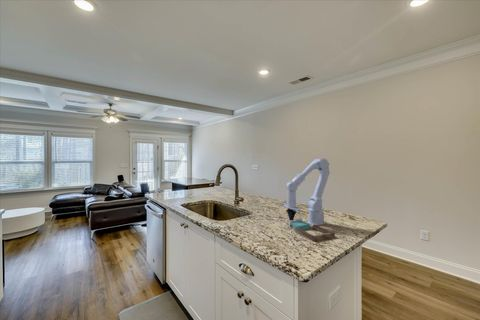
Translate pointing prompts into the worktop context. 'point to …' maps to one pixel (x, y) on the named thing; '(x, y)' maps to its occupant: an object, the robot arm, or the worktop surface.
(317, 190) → the robot arm
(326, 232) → the dock
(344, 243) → the worktop surface
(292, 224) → the teal flat block
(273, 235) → the worktop surface
